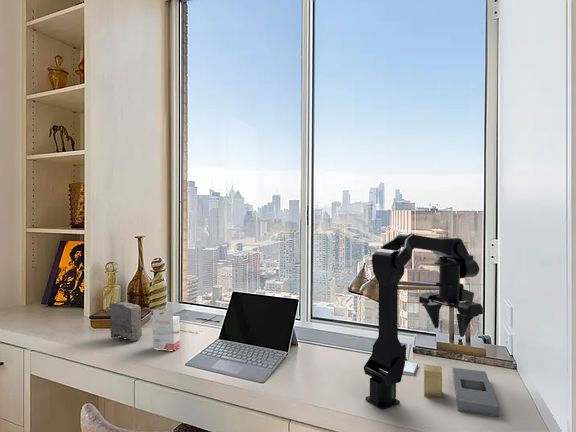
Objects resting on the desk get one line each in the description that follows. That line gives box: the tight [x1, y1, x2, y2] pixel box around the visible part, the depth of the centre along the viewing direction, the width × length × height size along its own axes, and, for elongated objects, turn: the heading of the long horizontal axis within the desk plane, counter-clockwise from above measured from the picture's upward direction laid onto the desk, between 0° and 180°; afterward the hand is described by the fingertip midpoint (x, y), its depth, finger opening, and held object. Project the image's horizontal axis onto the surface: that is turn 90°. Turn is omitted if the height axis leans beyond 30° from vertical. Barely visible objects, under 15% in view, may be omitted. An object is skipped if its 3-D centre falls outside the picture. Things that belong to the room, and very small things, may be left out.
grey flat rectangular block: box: [452, 367, 500, 418], centre depth 106 cm, size 22×9×2 cm, turn 161°
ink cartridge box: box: [152, 309, 181, 351], centre depth 142 cm, size 9×5×15 cm, turn 76°
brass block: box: [423, 363, 443, 400], centre depth 107 cm, size 4×4×7 cm
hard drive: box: [380, 361, 419, 377], centre depth 125 cm, size 2×8×12 cm
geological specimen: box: [109, 301, 143, 342], centre depth 152 cm, size 11×6×15 cm, turn 67°
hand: (448, 332), depth 116 cm, fingers open, 9 cm apart
